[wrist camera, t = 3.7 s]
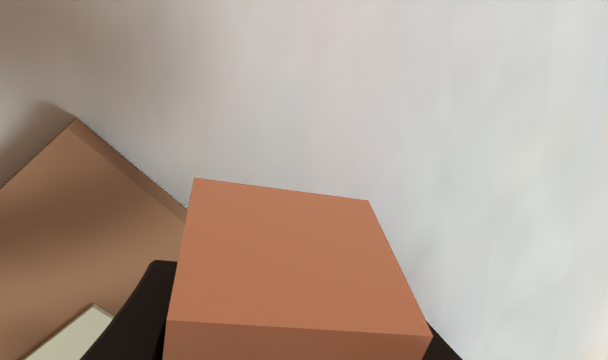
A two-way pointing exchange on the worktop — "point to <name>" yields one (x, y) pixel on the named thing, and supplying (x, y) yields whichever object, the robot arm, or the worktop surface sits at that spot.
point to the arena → (76, 244)
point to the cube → (288, 280)
